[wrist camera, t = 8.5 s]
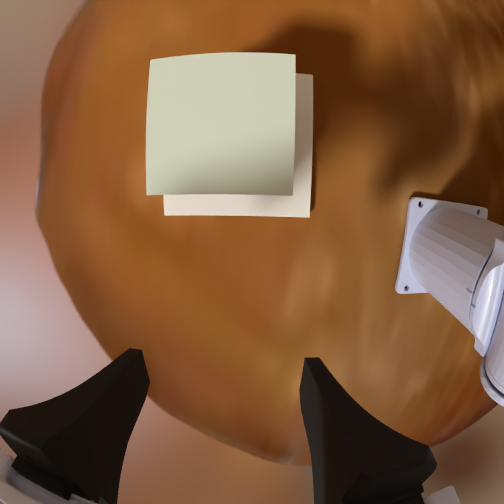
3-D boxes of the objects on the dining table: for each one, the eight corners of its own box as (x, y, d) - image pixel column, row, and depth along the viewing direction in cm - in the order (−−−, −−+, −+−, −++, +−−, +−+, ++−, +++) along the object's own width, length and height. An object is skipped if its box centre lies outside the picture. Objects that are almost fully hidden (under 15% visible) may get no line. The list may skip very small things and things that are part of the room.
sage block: (283, 86, 12) (295, 54, 8) (281, 184, 14) (292, 195, 9) (181, 87, 12) (150, 60, 8) (179, 184, 14) (146, 195, 9)
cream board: (310, 77, 17) (312, 74, 16) (307, 215, 20) (309, 217, 19) (168, 79, 17) (165, 76, 16) (167, 213, 20) (164, 215, 19)
